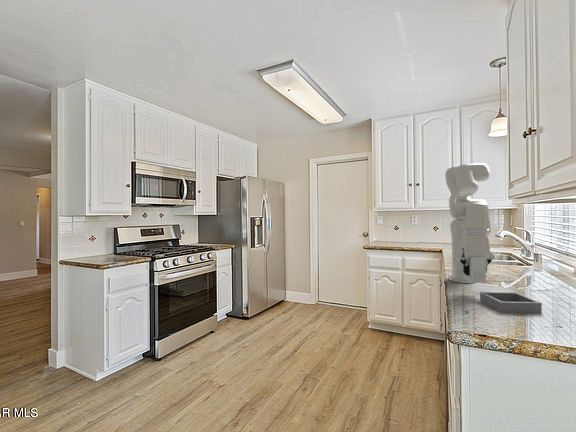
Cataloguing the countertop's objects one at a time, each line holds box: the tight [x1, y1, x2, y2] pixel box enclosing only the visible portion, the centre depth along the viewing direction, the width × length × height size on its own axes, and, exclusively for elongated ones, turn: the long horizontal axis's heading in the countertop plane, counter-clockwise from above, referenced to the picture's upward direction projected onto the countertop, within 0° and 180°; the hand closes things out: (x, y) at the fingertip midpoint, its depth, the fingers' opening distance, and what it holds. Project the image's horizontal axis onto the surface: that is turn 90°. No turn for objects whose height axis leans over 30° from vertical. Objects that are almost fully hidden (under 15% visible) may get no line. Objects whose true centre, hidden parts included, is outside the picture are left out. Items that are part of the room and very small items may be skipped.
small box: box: [465, 257, 487, 284], centre depth 131 cm, size 8×6×10 cm
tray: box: [479, 291, 543, 314], centre depth 116 cm, size 14×14×4 cm
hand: (474, 274), depth 131 cm, fingers closed on small box, 6 cm apart
